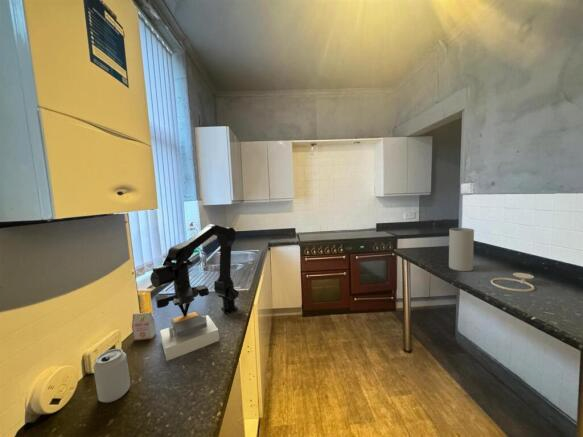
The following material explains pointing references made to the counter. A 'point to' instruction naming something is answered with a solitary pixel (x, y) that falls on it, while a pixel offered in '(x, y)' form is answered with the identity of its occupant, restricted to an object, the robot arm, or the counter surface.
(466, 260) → the cylinder vase
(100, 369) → the can
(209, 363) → the counter surface
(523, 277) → the hand towel holder
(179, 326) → the rocker switch
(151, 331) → the printed cardboard box
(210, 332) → the breaker housing
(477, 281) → the counter surface
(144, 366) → the counter surface
